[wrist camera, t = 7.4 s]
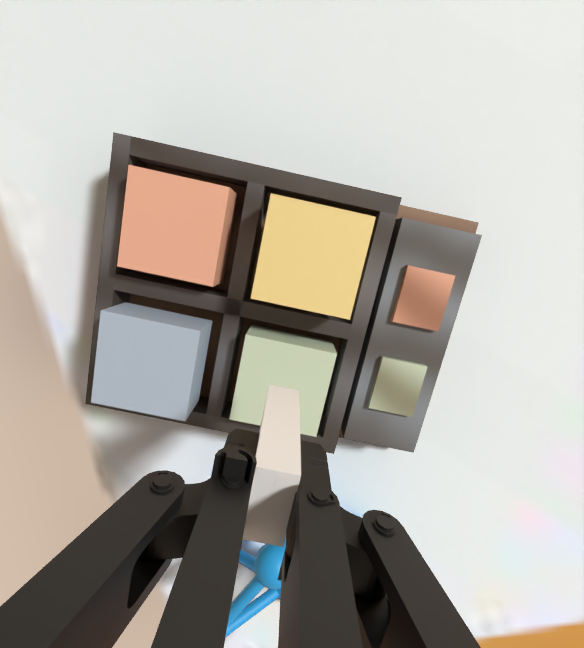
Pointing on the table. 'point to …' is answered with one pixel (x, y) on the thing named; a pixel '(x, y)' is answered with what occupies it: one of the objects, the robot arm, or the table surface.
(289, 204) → the mustard key
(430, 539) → the table surface
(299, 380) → the sage key
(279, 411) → the robot arm
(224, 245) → the terracotta key
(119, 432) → the table surface
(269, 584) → the molecular structure
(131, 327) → the slate key
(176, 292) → the keypad
